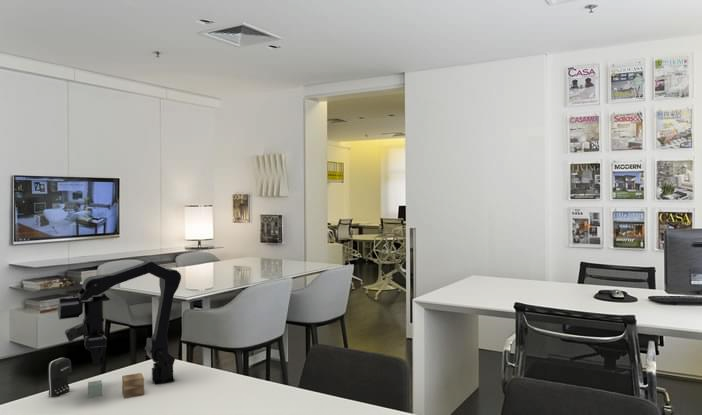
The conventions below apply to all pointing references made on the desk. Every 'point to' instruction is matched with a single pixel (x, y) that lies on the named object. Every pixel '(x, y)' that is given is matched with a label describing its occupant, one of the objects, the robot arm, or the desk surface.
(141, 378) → the brown square block
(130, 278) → the robot arm
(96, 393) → the sage block
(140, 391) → the block
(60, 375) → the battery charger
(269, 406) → the desk surface
